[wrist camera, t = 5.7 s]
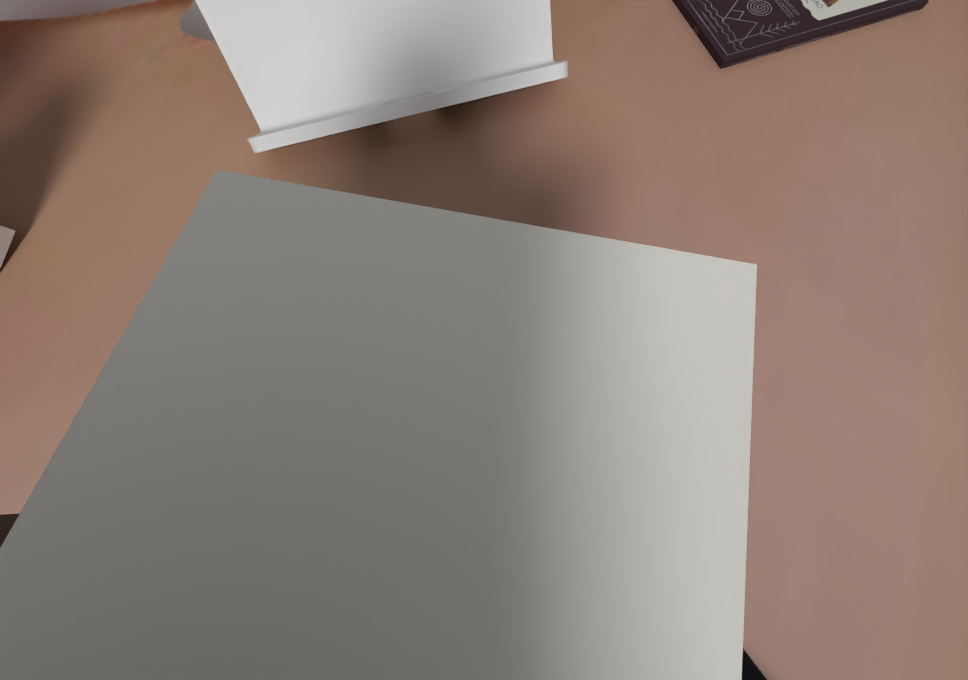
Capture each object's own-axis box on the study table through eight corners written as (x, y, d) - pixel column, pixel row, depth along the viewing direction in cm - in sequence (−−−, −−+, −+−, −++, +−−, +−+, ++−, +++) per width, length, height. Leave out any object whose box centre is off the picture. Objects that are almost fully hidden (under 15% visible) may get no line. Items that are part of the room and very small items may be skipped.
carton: (529, 541, 15) (729, 1353, 1) (413, 507, 15) (-178, 843, 2) (553, 419, 16) (765, 259, 3) (446, 392, 17) (214, 165, 4)
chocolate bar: (674, -9, 31) (862, -63, 32) (669, 4, 32) (852, -49, 33) (724, 61, 29) (928, 1, 29) (717, 73, 30) (916, 14, 30)
